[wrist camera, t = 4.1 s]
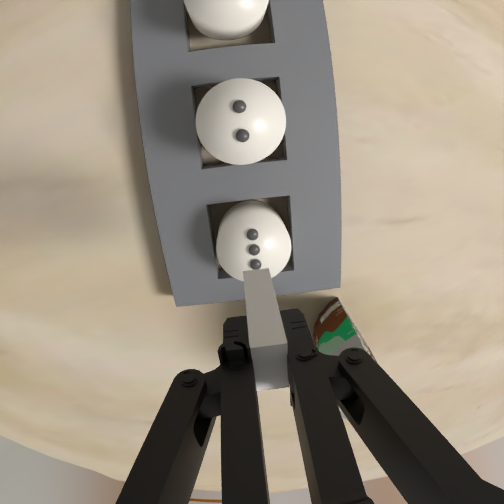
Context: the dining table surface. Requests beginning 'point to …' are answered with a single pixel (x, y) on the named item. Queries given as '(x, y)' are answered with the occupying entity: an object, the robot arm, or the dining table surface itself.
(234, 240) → the three dot button
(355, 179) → the dining table surface
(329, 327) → the food container
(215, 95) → the two dot button
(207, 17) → the one dot button
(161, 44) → the button board
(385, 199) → the dining table surface
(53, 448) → the dining table surface
